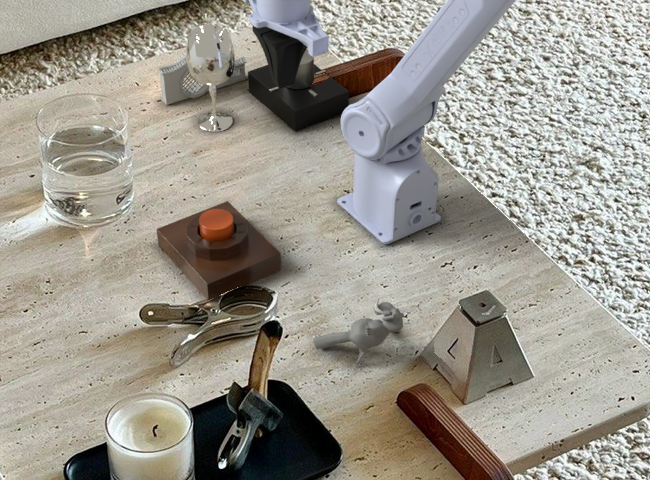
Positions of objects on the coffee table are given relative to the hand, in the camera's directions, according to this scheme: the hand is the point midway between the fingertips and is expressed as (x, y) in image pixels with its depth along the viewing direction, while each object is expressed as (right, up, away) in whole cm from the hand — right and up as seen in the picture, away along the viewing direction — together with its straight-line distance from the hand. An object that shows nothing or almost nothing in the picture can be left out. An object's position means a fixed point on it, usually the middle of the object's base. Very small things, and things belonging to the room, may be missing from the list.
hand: (283, 83), depth 134 cm
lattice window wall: (-11, +3, +18) cm, 21 cm away
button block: (-7, -20, -6) cm, 22 cm away
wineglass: (-9, -2, +13) cm, 16 cm away
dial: (+1, +4, +14) cm, 15 cm away
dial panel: (+1, +1, +16) cm, 16 cm away
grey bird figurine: (+8, -31, -16) cm, 36 cm away
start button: (-7, -18, -8) cm, 21 cm away
